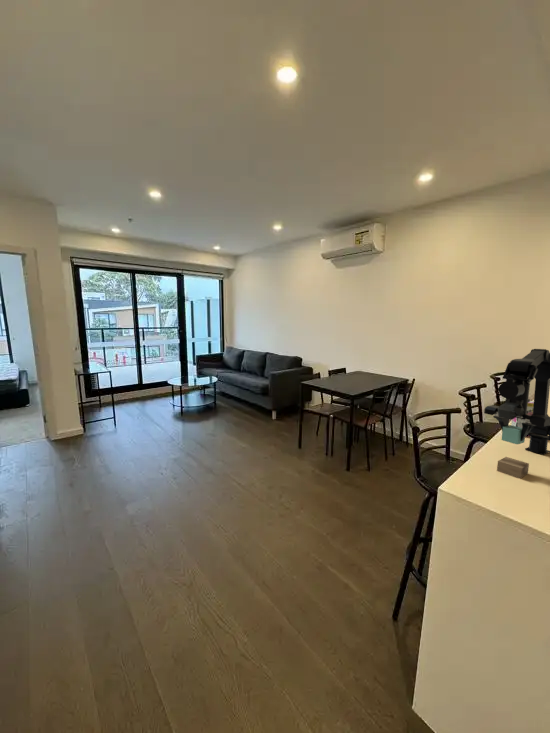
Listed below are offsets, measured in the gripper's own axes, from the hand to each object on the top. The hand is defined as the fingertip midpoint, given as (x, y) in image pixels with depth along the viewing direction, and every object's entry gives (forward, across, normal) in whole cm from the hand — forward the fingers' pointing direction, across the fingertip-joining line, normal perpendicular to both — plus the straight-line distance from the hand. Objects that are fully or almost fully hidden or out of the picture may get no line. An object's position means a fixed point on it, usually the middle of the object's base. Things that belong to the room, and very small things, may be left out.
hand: (513, 438), depth 114 cm
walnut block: (+12, +2, -2) cm, 12 cm away
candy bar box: (+11, -16, +50) cm, 54 cm away
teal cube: (+1, 0, 0) cm, 1 cm away
